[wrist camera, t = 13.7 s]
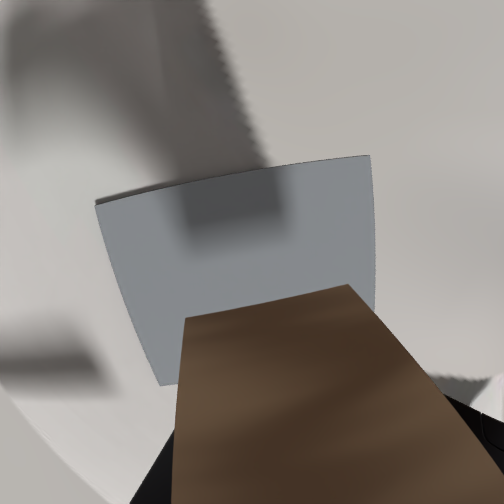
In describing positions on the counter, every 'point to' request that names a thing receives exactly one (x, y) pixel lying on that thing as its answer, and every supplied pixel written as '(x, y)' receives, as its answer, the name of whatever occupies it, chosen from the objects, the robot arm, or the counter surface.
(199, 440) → the wooden block
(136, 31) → the counter surface
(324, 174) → the pad
